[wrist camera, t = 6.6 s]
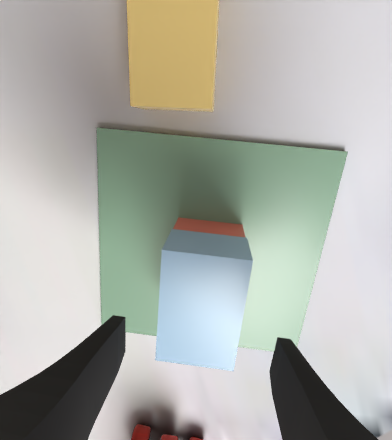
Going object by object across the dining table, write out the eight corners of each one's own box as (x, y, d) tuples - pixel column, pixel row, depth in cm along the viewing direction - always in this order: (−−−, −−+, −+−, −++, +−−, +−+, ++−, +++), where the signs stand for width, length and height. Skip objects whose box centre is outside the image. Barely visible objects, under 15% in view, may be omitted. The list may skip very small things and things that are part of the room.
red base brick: (242, 224, 19) (246, 241, 16) (229, 308, 21) (231, 336, 19) (178, 217, 19) (171, 232, 16) (172, 301, 22) (165, 328, 19)
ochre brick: (220, -22, 15) (220, -56, 13) (213, 111, 18) (212, 108, 15) (141, -23, 16) (124, -56, 13) (144, 109, 18) (130, 106, 15)
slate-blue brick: (247, 237, 16) (252, 260, 13) (231, 333, 18) (233, 371, 16) (171, 228, 16) (161, 249, 14) (165, 325, 19) (155, 360, 16)
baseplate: (345, 151, 17) (347, 151, 17) (293, 350, 23) (295, 354, 22) (99, 127, 18) (96, 127, 18) (103, 325, 23) (101, 328, 23)
